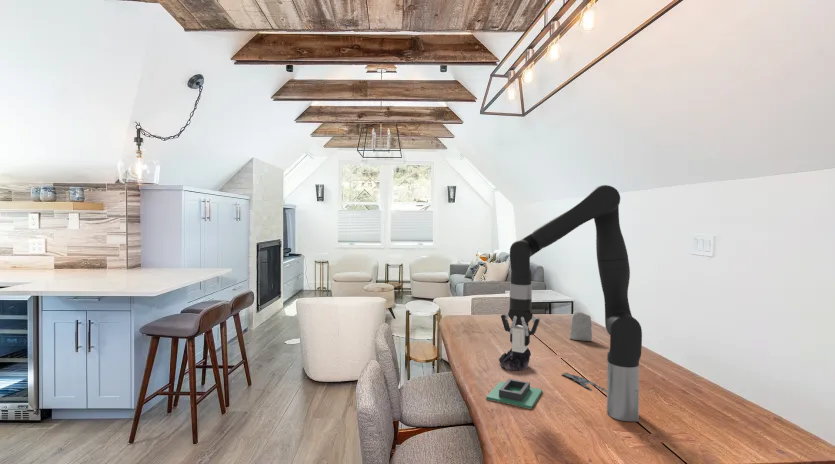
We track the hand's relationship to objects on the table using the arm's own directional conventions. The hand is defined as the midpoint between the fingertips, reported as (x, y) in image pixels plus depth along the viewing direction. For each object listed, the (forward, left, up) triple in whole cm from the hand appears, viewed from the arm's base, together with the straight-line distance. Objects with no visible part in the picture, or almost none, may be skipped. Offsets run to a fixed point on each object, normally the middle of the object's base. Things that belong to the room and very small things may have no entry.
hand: (519, 344), depth 145 cm
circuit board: (+2, -3, -20) cm, 20 cm away
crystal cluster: (+12, -33, -20) cm, 41 cm away
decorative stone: (-9, -90, -20) cm, 92 cm away
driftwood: (-18, -27, -21) cm, 38 cm away
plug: (0, 0, -2) cm, 2 cm away
